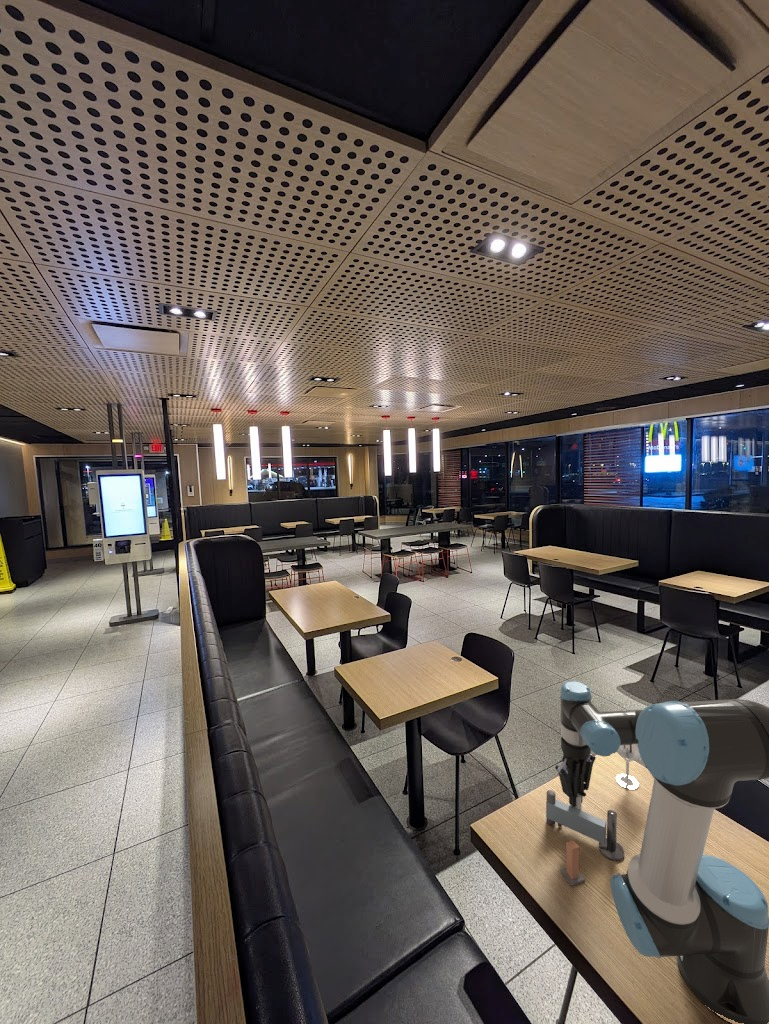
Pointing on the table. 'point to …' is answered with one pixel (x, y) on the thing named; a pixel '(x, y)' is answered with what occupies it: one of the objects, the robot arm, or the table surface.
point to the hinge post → (611, 839)
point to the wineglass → (629, 755)
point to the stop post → (572, 865)
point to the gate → (574, 818)
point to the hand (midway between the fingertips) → (575, 814)
